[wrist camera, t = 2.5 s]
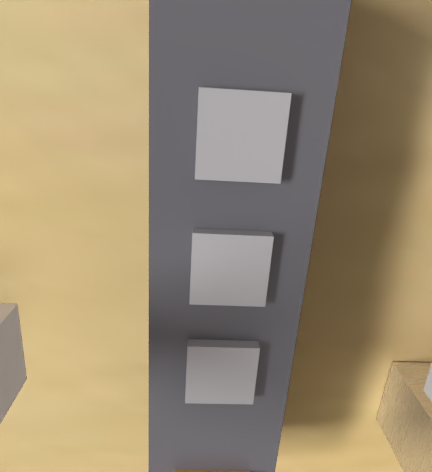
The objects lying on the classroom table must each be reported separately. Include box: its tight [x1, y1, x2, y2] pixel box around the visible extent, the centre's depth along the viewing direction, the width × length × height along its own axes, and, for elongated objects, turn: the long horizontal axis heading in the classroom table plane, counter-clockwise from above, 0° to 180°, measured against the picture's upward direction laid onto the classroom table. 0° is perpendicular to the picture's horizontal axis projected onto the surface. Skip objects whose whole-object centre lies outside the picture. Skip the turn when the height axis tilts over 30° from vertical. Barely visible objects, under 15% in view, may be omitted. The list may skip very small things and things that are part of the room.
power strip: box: [149, 0, 351, 472], centre depth 16 cm, size 22×5×7 cm, turn 176°
